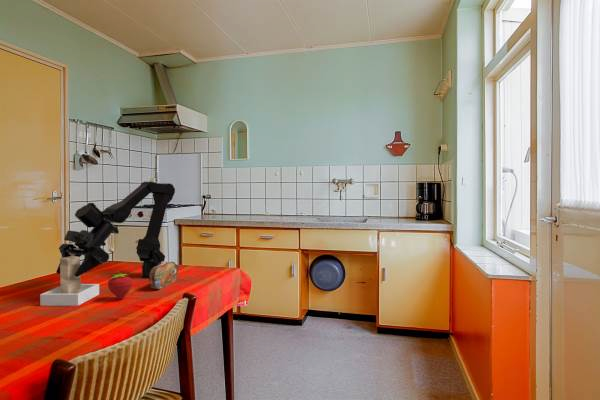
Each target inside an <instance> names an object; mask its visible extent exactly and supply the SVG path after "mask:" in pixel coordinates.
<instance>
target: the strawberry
mask: <svg viewBox="0 0 600 400" xmlns="http://www.w3.org/2000/svg"><path fill="white" fill-rule="evenodd" d="M133 283H134V282H133V279H132V278H131V277H129V276H128V273H119V271H117V274H112V277H110V278H109V280H108V281H107V287H108V289H109V291H110V293H112V295H114V296H115V298H117V300H121V301H122V300H123V299H124V298H125V297H126V295H127V294H129V292H130V291H131V289H132V287H133Z"/></svg>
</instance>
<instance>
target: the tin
mask: <svg viewBox="0 0 600 400" xmlns="http://www.w3.org/2000/svg"><path fill="white" fill-rule="evenodd" d="M178 271H179V270H178V265H177V264H176V262H174V261H166V262H165V261H164V262H162V263H161V264H160V265H158V266H155V267H153V268H152V269H151V271H150V274H149V278H148V280H149V281H148V282H149V287H150V288H151V289H154V290H162V289H165V288H167V287H168V286H171V285H172V284H174V283H175V282H176V280H177V279H178V275H179V274H178Z"/></svg>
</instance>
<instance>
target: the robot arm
mask: <svg viewBox="0 0 600 400" xmlns="http://www.w3.org/2000/svg"><path fill="white" fill-rule="evenodd" d="M175 193H176V188H175V186H174V184H172V183H169V182H168V183H163V182H162V183H161V182H160V183H159V182H155V181H143V182H141V183H140V185H138V186H137V188H135V189H134V190H133V191H132V192H131V193H129V194H128V195H127V196H126V197H124V199H122V200H121V201H118V202H116V203H112V204H111V205H109V206H108V207H106V208H105V209H104V210H100V209H99V208H98V207H97V205H96V204H95V203H94V202H88V203H87V204H86V205H83V206H81V208H78V209H77V210H76V212H74V216H75V218H76V219H78V220H79V221H80V222H81V223H82V224H83V225H84V226H86V228H92V229H91V230H90V231H89V230H84V229H81V230H80V231H77V230H76V231H75V230H67V232H66V234H65V236H64V241H66V242H67V241H68V242H70V243H62V244H61V245H60V246H59V247H58V250H59V253H60V254H61V258H64V257H70V256H76V257H80V258H81V256H84V257H83V258H84V259H83V260H82V262H81V263H80V267H79V268H78V269H77V271H76V273H75V274H74V275H75V276H76V277H78V276H80V275H83V274H86V273H87V272H89V271H90V270H92V269H94V268H96V267H98V266H100V265H101V266H102V265H103V264H107V262H108V261H109V260H110V254H109V253H108V252H106V250H104V249H103V247H105V246H106V245H107V243H106V241H107V239H108V238H109V237H110V236H111V234H117V235H118V234H119V232H120V231H119V227H118V225H114V224H113V223H115V224H123V223H125V222H126V220H127V219H128V218H130V216H131V211H132V210H133V209H134V208H135V207H136V206H137V205H139V203H141V202H142V201H143V200H144V199H145V198H146V197H147V196H149V195H150V194H152V197H153V198H152V199H153V202H154V204H153V205H152V206H153V207H152V211H151V215H150V219H149V221H148V225H147V230H146V232H145V236H144V237H143V238H139V239H138V241H137V245H136V248H135V249H136V255H137V257H138V259H139V261H140V262H142V265H141V275H142V276H141V277H140V278H141V279H149V274H150V271H151V269H152V268H153V267H155V266H158V265H160V264H162V263H163V262H165V259H166V255H165V254H164V253H163V252H162V251H161V242H160V232H161V229H162V224H163V222H164V221H163V220H164V217H165V214H166V209H167V206H168V205H169V203H170V202H171V201H172V200H173V197H174V196H175ZM71 242H72V243H71ZM55 272H56V274H59V275H60V263H59V264H58V266H57V268H56V271H55Z"/></svg>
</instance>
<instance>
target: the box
mask: <svg viewBox="0 0 600 400" xmlns="http://www.w3.org/2000/svg"><path fill="white" fill-rule="evenodd" d="M99 295H100V284H99V283H81V292H79V293H77V294H61V285H60V286H57V287H54V288H52V289H50V290H48V291H45V292H43V293H41V294H40V296H39V297H40V298H39V299H40V301H39V302H40V307H42V306H45V307H48V306H49V307H52V306H53V307H55V306H56V307H58V306H66V307H67V306H70V307H71V306H73V307H74V306H75V307H77V306H81V305H82V304H83V303H86V302H87V301H89V300H91V299H93V298H95V297H97V296H99Z"/></svg>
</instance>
